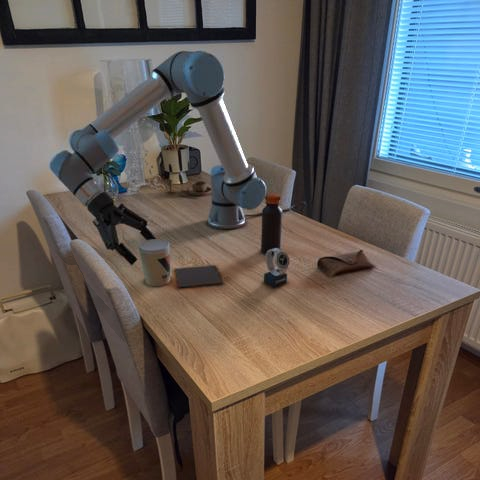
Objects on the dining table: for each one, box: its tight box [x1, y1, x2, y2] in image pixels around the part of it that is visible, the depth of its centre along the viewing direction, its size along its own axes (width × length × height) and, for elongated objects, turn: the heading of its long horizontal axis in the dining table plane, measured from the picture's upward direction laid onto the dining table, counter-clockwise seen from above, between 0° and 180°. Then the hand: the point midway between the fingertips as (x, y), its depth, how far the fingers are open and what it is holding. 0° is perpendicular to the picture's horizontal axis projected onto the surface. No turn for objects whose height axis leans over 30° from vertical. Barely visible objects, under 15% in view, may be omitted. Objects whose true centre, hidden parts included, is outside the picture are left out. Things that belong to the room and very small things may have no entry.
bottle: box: [260, 193, 283, 256], centre depth 153 cm, size 7×7×20 cm
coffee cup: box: [137, 238, 171, 287], centre depth 135 cm, size 9×9×12 cm
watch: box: [263, 248, 290, 289], centre depth 134 cm, size 6×8×11 cm
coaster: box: [175, 264, 222, 289], centre depth 140 cm, size 13×13×1 cm
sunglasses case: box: [316, 249, 375, 277], centre depth 146 cm, size 18×7×7 cm, turn 115°
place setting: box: [167, 179, 211, 199], centre depth 219 cm, size 18×20×6 cm
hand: (146, 253), depth 134 cm, fingers open, 13 cm apart
